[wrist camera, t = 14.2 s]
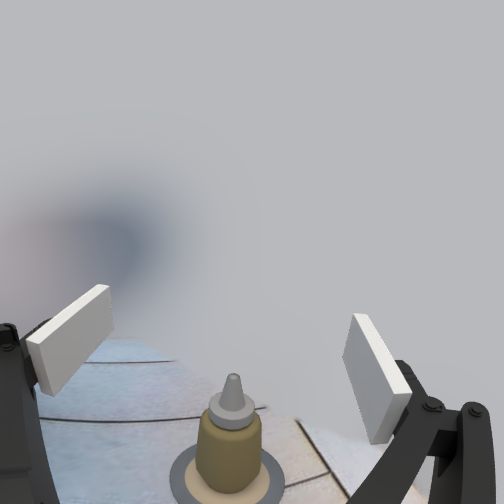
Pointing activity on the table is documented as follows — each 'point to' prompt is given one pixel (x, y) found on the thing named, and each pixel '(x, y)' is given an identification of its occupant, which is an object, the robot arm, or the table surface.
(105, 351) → the table surface
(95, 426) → the table surface
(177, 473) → the coaster
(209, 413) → the squeeze bottle
